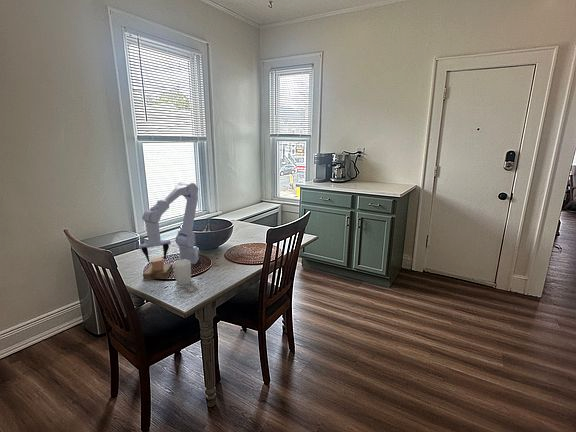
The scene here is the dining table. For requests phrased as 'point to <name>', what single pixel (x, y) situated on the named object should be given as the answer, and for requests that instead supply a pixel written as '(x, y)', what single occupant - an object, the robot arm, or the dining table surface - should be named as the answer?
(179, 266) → the white cup
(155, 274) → the base
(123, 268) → the dining table surface
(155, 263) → the cube
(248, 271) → the dining table surface
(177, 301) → the dining table surface
